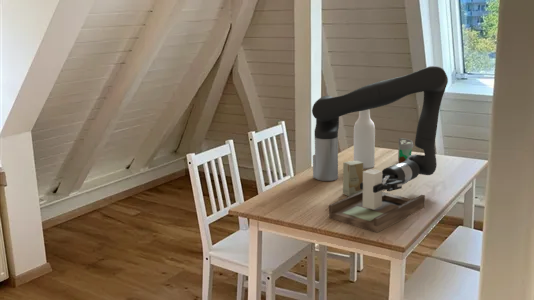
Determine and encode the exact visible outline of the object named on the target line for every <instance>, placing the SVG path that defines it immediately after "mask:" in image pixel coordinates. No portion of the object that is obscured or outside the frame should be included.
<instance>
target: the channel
mask: <svg viewBox="0 0 534 300" xmlns="http://www.w3.org/2000/svg"><path fill="white" fill-rule="evenodd" d="M425 198H426V195H425V194H420V195H418V196H416V197H414V198H409V197H405V196H401V195H397V194H393V193H389V192H386V191H385V192H384V191H382V206H380V207H378V208H376V209H371V208H367V207H363V191H361V192H359V193H356V194H354V195H352V196H347V197H345V198H343V199H342V198H341V199H340V200H338V201H335V202H334V203H331V204H329V205H328V215H329V216H328V217H329V219H332V220H335V221H338V222H342V223H345V224H348V225H352V226H355V227H358V228H360V229H364V230H366V231H367V230H368V231H371V232H374V233H379V232H381V231H382V230H384V229H387V228H389V227H390V226H393V225H394V224H396V223H398V222H400V221H402V220H404V219H406V218H407V217H409V216H411V215H413V214H416V213H418V212H419V211H421V210H423V209H425V202H426V201H425V200H426V199H425Z"/></svg>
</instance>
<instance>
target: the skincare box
mask: <svg viewBox="0 0 534 300" xmlns="http://www.w3.org/2000/svg"><path fill="white" fill-rule="evenodd" d="M342 168H343V169H342V194H343V195H344V196H347V197H349V196H352V195H354V194H356V193H359V192H361V191H363V190H362V189H360V183H362V182H363V172H364V169H363V163H362V162H360V161H357V160H355V161H354V160H349V161H344V162H343V166H342Z"/></svg>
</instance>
